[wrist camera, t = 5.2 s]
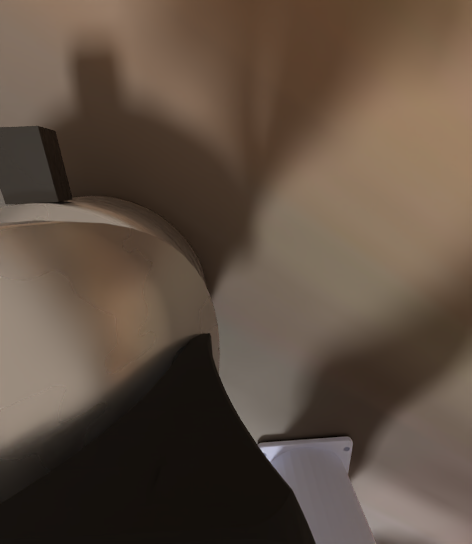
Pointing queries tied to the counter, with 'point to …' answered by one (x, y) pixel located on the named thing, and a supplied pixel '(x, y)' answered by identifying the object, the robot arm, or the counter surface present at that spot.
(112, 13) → the counter surface
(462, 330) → the counter surface
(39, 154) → the cooker pot
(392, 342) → the counter surface
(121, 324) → the cooker lid
